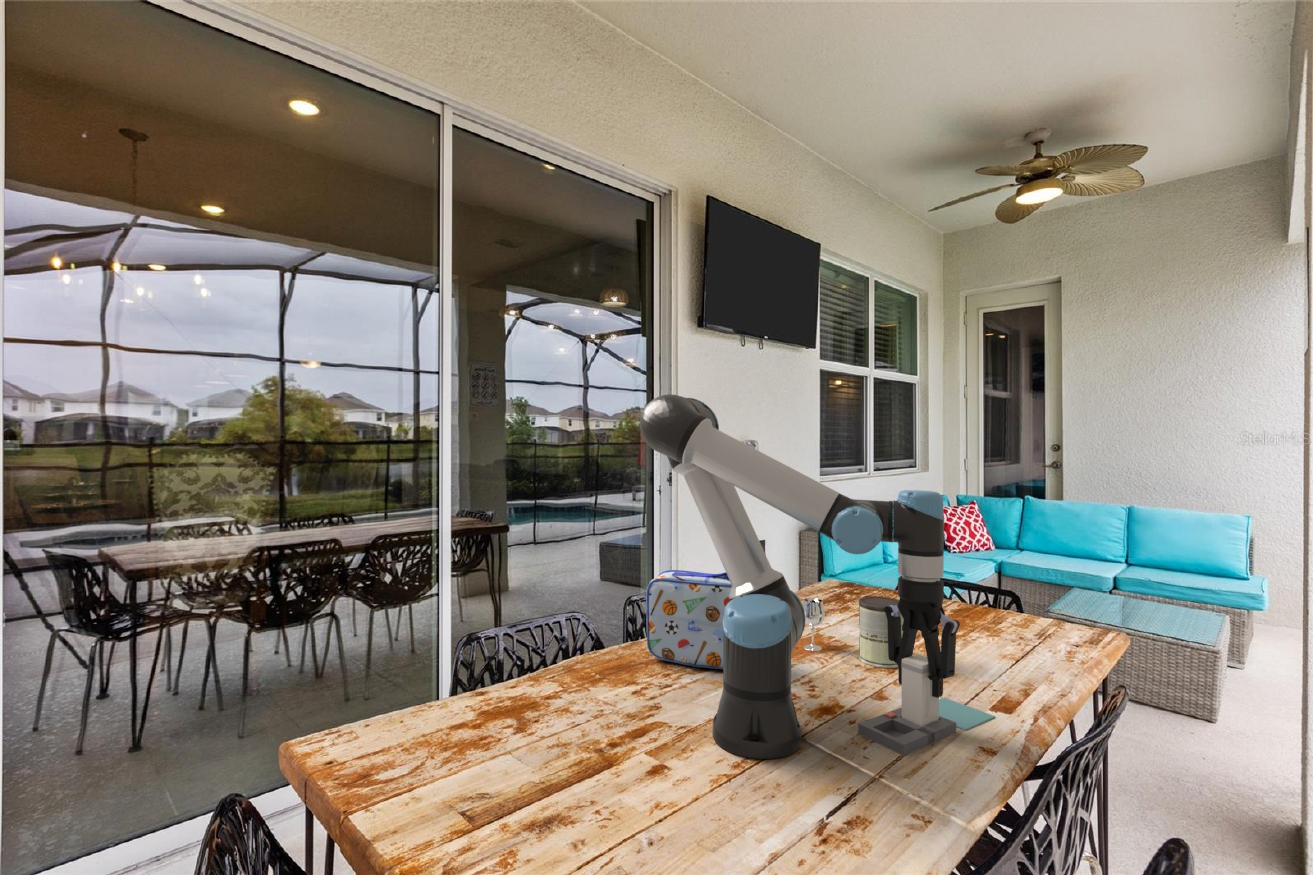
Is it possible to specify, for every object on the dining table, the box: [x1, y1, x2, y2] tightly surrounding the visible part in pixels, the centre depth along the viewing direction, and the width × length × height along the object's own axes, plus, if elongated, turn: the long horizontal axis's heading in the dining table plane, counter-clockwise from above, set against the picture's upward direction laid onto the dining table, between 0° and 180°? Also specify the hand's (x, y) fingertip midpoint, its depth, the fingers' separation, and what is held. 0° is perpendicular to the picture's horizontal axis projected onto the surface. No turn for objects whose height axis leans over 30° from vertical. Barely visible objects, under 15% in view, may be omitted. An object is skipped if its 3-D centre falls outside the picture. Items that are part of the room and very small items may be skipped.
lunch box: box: [645, 569, 732, 670], centre depth 143 cm, size 28×10×22 cm, turn 71°
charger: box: [901, 654, 939, 727], centre depth 109 cm, size 5×4×12 cm
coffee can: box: [858, 596, 904, 669], centre depth 145 cm, size 10×10×14 cm
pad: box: [939, 697, 996, 732], centre depth 115 cm, size 10×10×1 cm
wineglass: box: [802, 597, 826, 652], centre depth 154 cm, size 6×6×12 cm
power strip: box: [857, 707, 957, 756], centre depth 107 cm, size 15×9×3 cm, turn 123°
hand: (920, 708), depth 109 cm, fingers closed on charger, 4 cm apart
